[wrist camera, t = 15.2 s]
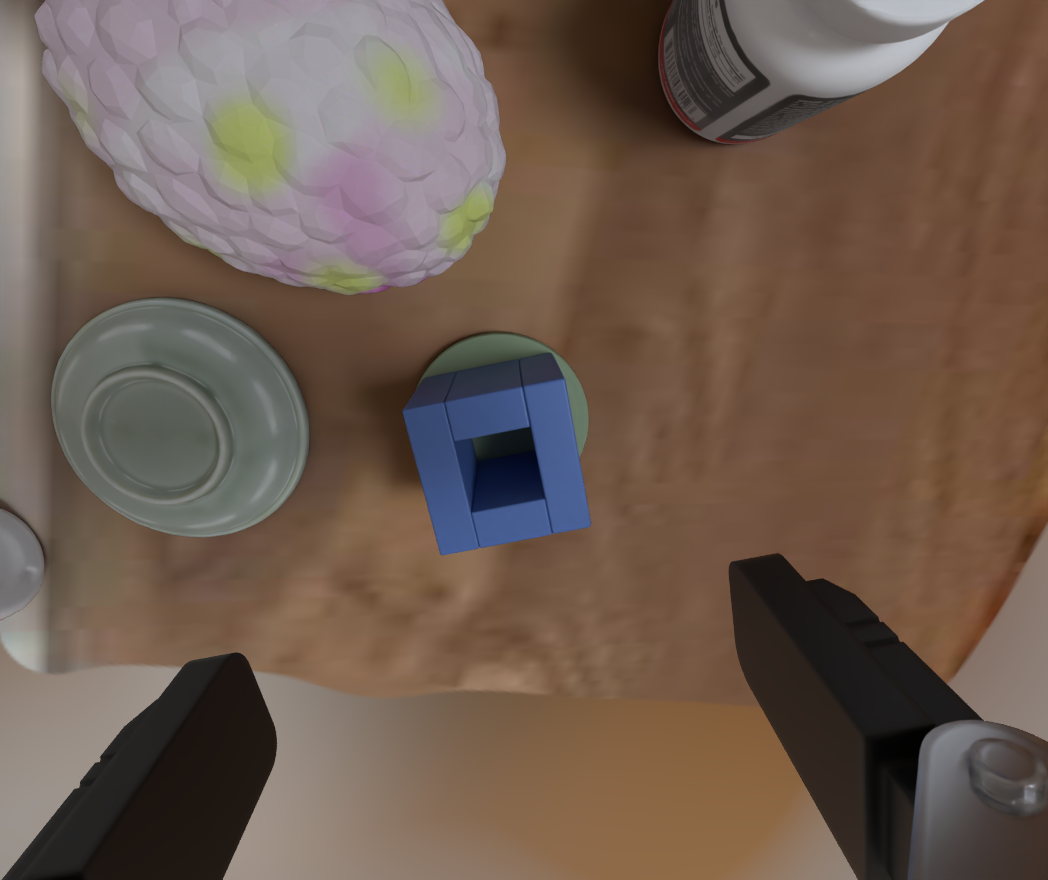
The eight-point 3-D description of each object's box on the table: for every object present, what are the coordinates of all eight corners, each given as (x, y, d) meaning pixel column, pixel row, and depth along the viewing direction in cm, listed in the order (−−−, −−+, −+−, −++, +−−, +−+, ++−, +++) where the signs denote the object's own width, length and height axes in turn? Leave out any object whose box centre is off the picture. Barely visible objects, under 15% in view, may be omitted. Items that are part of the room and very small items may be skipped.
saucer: (339, 402, 21) (355, 387, 23) (69, 243, 19) (116, 243, 21) (221, 603, 23) (247, 570, 25) (-30, 479, 21) (22, 456, 24)
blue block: (423, 377, 22) (401, 410, 18) (552, 351, 22) (565, 377, 18) (453, 496, 24) (440, 556, 19) (574, 473, 24) (591, 527, 19)
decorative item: (-2, -237, 13) (13, -202, 8) (430, -51, 20) (600, 37, 15) (52, 164, 19) (82, 348, 13) (379, 206, 25) (489, 341, 20)
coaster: (392, 351, 23) (389, 353, 22) (571, 315, 22) (572, 316, 22) (435, 514, 25) (433, 520, 24) (599, 482, 25) (601, 488, 24)
